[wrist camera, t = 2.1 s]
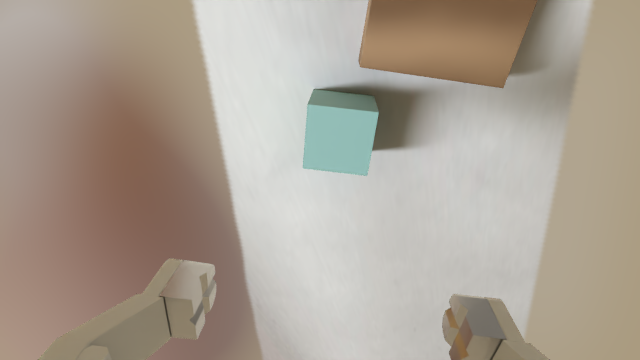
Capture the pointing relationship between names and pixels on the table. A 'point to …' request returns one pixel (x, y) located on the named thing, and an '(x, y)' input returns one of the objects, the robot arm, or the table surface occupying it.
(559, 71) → the table surface
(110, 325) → the robot arm
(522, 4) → the walnut block
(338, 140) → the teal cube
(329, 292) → the table surface
